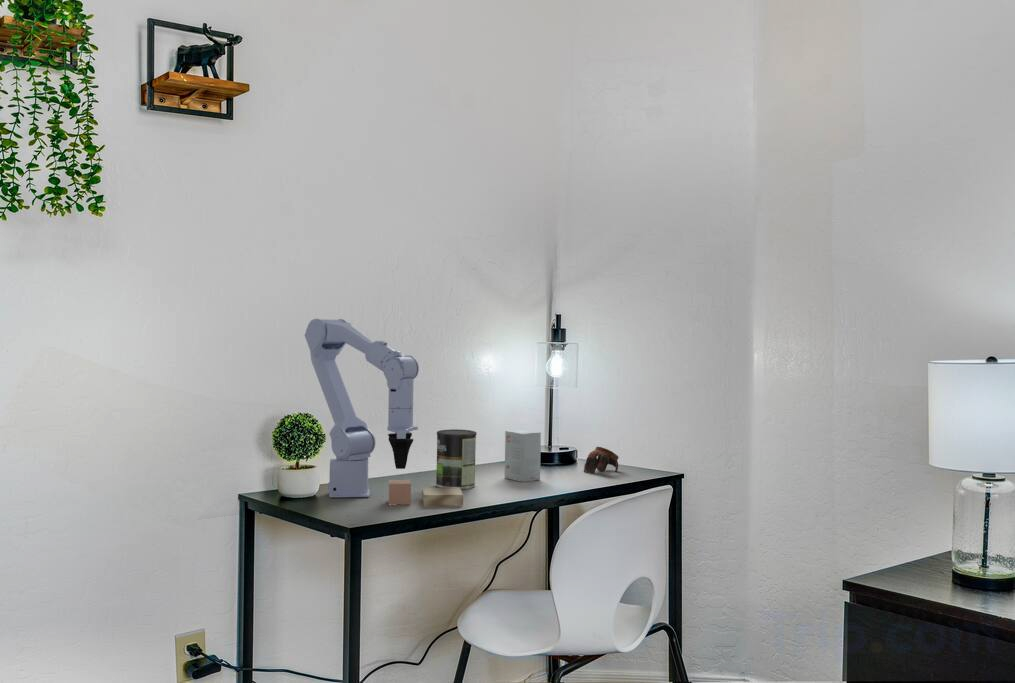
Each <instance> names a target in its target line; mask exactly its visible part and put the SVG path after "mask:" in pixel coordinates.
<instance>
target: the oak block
mask: <svg viewBox="0 0 1015 683" xmlns="http://www.w3.org/2000/svg"><path fill="white" fill-rule="evenodd" d="M421 499H422V504H423V507H453V506H452V505H457V506H456V507H463V506H464V494H463V491H462V489H460V487H456V488H439V487H422V495H421ZM460 505H462V506H460Z"/></svg>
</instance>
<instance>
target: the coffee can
mask: <svg viewBox="0 0 1015 683" xmlns="http://www.w3.org/2000/svg"><path fill="white" fill-rule="evenodd" d="M436 435H437V436H436V475H435V476H436V479H435V480H436V481H435V487H436V488H456V487H460V489H461V490H469V489H473V488H475V487H476V449H477V448H476V447H477V446H476V445H477V444H476V443H477V441H476V440H477V431H474V430H470V429H469V430H468V429H457V428H455V429H454V428H453V429H441V430H440V429H439V430H438V431H436Z"/></svg>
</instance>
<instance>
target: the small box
mask: <svg viewBox="0 0 1015 683" xmlns="http://www.w3.org/2000/svg"><path fill="white" fill-rule="evenodd" d="M504 434H505V435H504V437H505V438H504V445H505V446H504V478H505V479H509V480H514V481H518V482H521V483H522V482H523V483H527V482H534V481H539V480H541V443H542V442H541V439H542V438H541V434H542V433H541V431H535V430H534V431H532V430H525V429H514V430H505V432H504Z"/></svg>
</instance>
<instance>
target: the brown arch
mask: <svg viewBox="0 0 1015 683" xmlns="http://www.w3.org/2000/svg"><path fill="white" fill-rule="evenodd" d="M618 460H619V456H618V455H617V454H616V453H615V452H613V451H611V450H610V449H608V448H605V447H602V446H596V447H595V449H593V450H592V451H590V453H589V454H588V455H587V457H586V461H585V463H584V465H583V466H584V467H583V472H588V473H590V474H593V473H594V474H593V475H595V474H596V470H597V471H598V472H599V473H603V472H604V473H605V471H606V470H607V467H608V465H610V466H613V467H614V468H615V469H614V470H615V471H617V472H618V470H619V462H618ZM615 471H614V472H615Z"/></svg>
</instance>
